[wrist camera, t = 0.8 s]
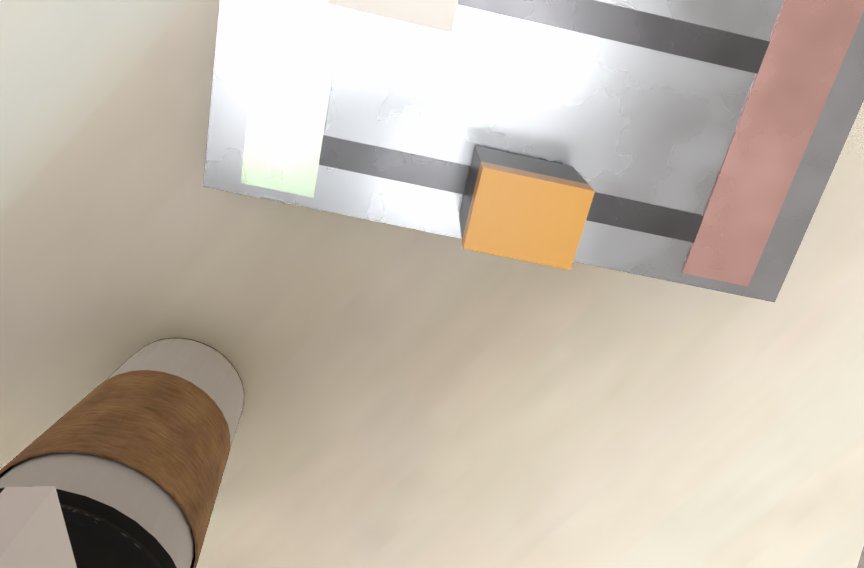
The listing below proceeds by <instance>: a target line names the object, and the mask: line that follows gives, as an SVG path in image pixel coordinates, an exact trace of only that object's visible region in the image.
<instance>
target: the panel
mask: <svg viewBox="0 0 864 568" xmlns="http://www.w3.org/2000/svg"><path fill="white" fill-rule="evenodd" d="M863 100H864V0H458V4H457V9H456V14H455V19H454V23H453V28H452V32H447V31H443V30H438V29H434V28H430V27H425V26H421V25H417V24H412V23H408V22H403V21H399V20H395V19H390V18H386V17H381V16H377V15H373V14H368V13H364V12H360V11H355V10H351V9H346V8H342V7H338V6H333V5H329V4H327V0H220V3H219V14H218V26H217V37H216V48H215V60H214V71H213V82H212V94H211V105H210V116H209V128H208V139H207V151H206V162H205V173H204V185H203V187H208V188H213V189H218V190H223V191H228V192H233V193H238V194H243V195H248V196H253V197H258V198H263V199H267V200H272V201H277V202H282V203H287V204H292V205H297V206H302V207H307V208H312V209H317V210H322V211H327V212H332V213H336V214H341V215H346V216H351V217H356V218H361V219H366V220H371V221H376V222H381V223H386V224H391V225H396V226H401V227H406V228H410V229H415V230H420V231H425V232H430V233H435V234H440V235H445V236H450V237H455V238H460V239H462V236H461V229H460V222H459V214H460V209H461V205H462V201H463V197H464V193H465V188H466V184H467V180H468V176H469V171H470V167H471V163H472V159H473V155H474V150H475V146H480V147H485V148H489V149H494V150H499V151H503V152H508V153H513V154H517V155H522V156H527V157H531V158H536V159H540V160H545V161H550V162H554V163H559V164H564V165H568V166H573V167H574V169H575V170H576V171H577V172H578V173H579V174H580V175H581V176H582V177H583V178H584V180H585V181H586V182H587V183H588V184H589V185H590V186H591V187H592V188H593V189H594V191H595V193H594V196H593V200H592V203H591V206H590V209H589V212H588V216H587V219H586V222H585V225H584V229H583V232H582V235H581V238H580V241H579V245H578V248H577V251H576V254H575V257H574V261H573V262H578V263H583V264H588V265H593V266H598V267H603V268H608V269H613V270H618V271H623V272H628V273H632V274H637V275H642V276H647V277H652V278H657V279H662V280H667V281H672V282H677V283H682V284H687V285H692V286H697V287H702V288H706V289H711V290H716V291H721V292H726V293H731V294H736V295H741V296H746V297H751V298H756V299H761V300H766V301H771V302H775V300H776V298H777V296H778V293H779V291H780V289H781V287H782V284H783V282H784V280H785V278H786V275H787V273H788V271H789V269H790V266H791V264H792V262H793V259H794V257H795V255H796V253H797V250H798V248H799V246H800V244H801V241H802V239H803V237H804V234H805V232H806V230H807V228H808V225H809V223H810V221H811V219H812V216H813V214H814V212H815V209H816V207H817V205H818V203H819V200H820V198H821V196H822V194H823V191H824V189H825V187H826V184H827V182H828V180H829V178H830V175H831V173H832V171H833V169H834V166H835V164H836V162H837V160H838V157H839V155H840V153H841V150H842V148H843V146H844V144H845V141H846V139H847V137H848V135H849V132H850V130H851V128H852V125H853V123H854V121H855V119H856V116H857V114H858V112H859V110H860V107H861V105H862V103H863Z"/></svg>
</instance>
